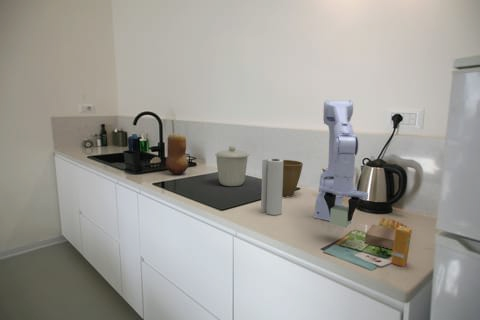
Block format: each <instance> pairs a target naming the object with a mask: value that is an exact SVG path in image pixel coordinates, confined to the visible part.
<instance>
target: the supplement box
mask: <svg viewBox="0 0 480 320" xmlns="http://www.w3.org/2000/svg"><path fill="white" fill-rule="evenodd" d="M407 227H408V226H407ZM407 227H404V226H399V227H398V228H396V232H395V239H394V246H393V250H392V254H391V255H392V256H391V260H390V261H391V262H390V263H391V264H394V265H395V266H399V267H402V268H404V267H405V266H406V264H408V263H407V262H408V258H409V249H410V244H411V236H412V228H410V227H408V228H407Z"/></svg>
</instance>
